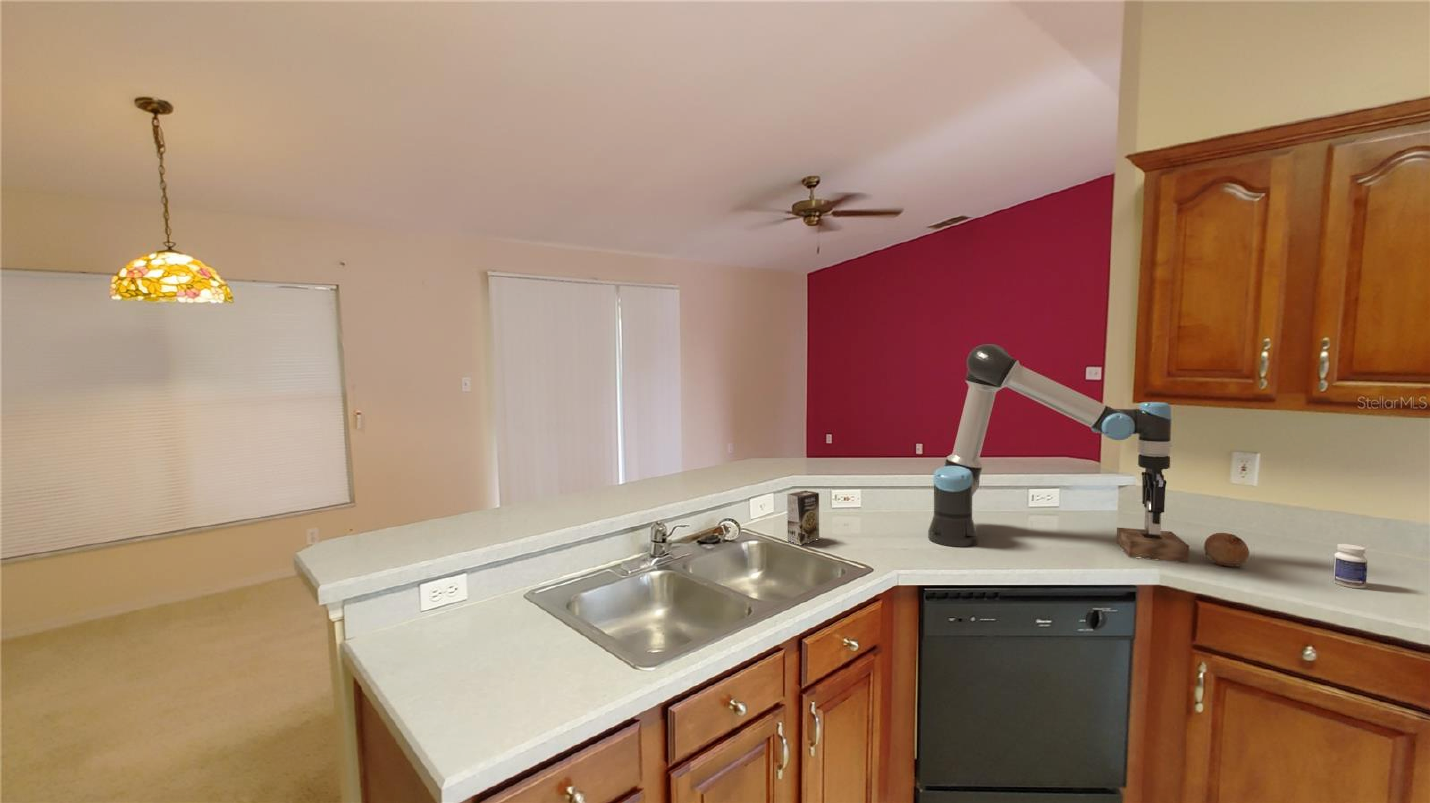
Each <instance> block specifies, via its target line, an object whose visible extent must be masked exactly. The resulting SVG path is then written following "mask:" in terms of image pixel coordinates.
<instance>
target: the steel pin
mask: <svg viewBox="0 0 1430 803" xmlns="http://www.w3.org/2000/svg"><path fill="white" fill-rule="evenodd" d="M1148 510H1151V506H1150V500H1148V501H1147V508H1146V538H1156V539H1160V535H1158V534H1149V513H1148Z"/></svg>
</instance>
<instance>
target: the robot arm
mask: <svg viewBox="0 0 1430 803" xmlns="http://www.w3.org/2000/svg"><path fill="white" fill-rule="evenodd" d="M966 367H967V373H966V376H965V383H966V384H967V387H968V389H967V392H966V393H967V394H966V397H965V402H964V405H963V410H962V413H961V418H960V422H959V425H958V430H957V434H956V437H955V442H954V445H953V450H952V453H951V454H950V455H948V456H946V458H945V462H944V463H945V464H944V466H941V467H939V468H937V469H936V470H935V471H934V473H933V517H932V519H931V522H930V525H929V527H928V532H927V538H928V539H929V540H930V541H931V542H933V543H935V544H938V545H941V546H949V547H960V548H961V547H962V548H963V547H971V546H975V545H977V544H978V542H979V534H978V531H977V529H976V525H975V522H974V519H973V496H974V494H975V493H976V492H977V490H978V489H979V487H980V478H981V473H982V468H983V464H982V463H981V461H980V457H981V453H982V450H983V446H984V440H985V438H986V434H987V429H988V426H989V423H990V417H991V414H992V410H993V406H994V402H995V398H996V395H997V392H998V391H1000V390H1001V389H1003V388H1008V389H1010V390H1012V391H1014V392H1017V393H1019V394H1020V395H1022V396H1024V397H1027V398H1029V399H1031V400H1033V401H1035V402H1037V403H1039V404H1040V405H1043V406H1046V407H1047V408H1050V409H1051V410H1054V411H1055V412H1058V413H1059V414H1062V415H1064V416H1066V417H1068V418H1070V419H1073V420H1074V421H1076V422H1078V423H1080V424H1083V425H1085V426H1087V427H1089V428H1090V429H1091V431H1092V432H1093V433H1097V434H1102V435H1104V436H1106V437H1107V438H1108V439H1111V440H1114V441H1124V440H1127V439H1128V438H1130V437H1131V436H1132V435H1138V443H1137V446H1138V448H1137V450H1138V451H1137V452H1138V453H1139V455H1137V456H1138V458H1137V459H1138V460H1137V461H1138V462H1137V464H1138V467H1139V468H1141V469H1145V470H1144V471H1141V480H1142V481H1141V482H1142V483H1141V486H1142V488H1141V490H1142V491H1141V493H1142V494H1141V496H1142V498H1141V499H1142V501H1141V504H1143V507H1144V527H1143V528H1144V530H1146V508H1147V501H1148V500H1150V506H1151V510H1148V513H1149V534H1158V535H1161V531H1162V528H1161V527H1162V514H1163V513H1165V505H1166V504H1165V499H1166V487H1167V480H1165V475H1164V474H1163V470H1168V469H1170V468H1171V457H1170V454H1171V447H1173V443H1171V435H1172V434H1171V433H1172V419H1173V418H1172V409H1171V405H1170V404H1168V403H1167V402H1159V401H1155V402H1154V401H1149V402H1147V401H1146V402H1145V401H1144V402H1141V403H1139V406H1138V408H1133V409H1131V408H1130V409H1129V408H1112V407H1110V406H1107V404H1104V403H1102V402H1099V401H1098V400H1095V399H1093V398H1091V397H1089V396H1087V395H1085V394H1083V393H1080V392H1079V391H1076V390H1075V389H1074V390H1073V389H1072V388H1070V387H1067V386H1065V385H1063V384H1061V383H1060V382H1057V381H1055V380H1052V379H1051V378H1049V377H1046V376H1044V375H1042V374H1039V373H1037V372H1035V371H1033V370H1031V369H1029V368H1027V367H1025V366H1023V365H1021V364H1020V361H1019V360H1018V359H1016V358H1014V357H1013V356H1010V355H1009V353H1008V352H1007V350H1006V349H1005V348H1004V347H1002V346H1000V345H997V344H992V343H991V344H990V343H987V344H980V345H978V346H976V347H974V348H973V349H972V350H971V351H970V352H969V354H968V355H967V360H966Z"/></svg>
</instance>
